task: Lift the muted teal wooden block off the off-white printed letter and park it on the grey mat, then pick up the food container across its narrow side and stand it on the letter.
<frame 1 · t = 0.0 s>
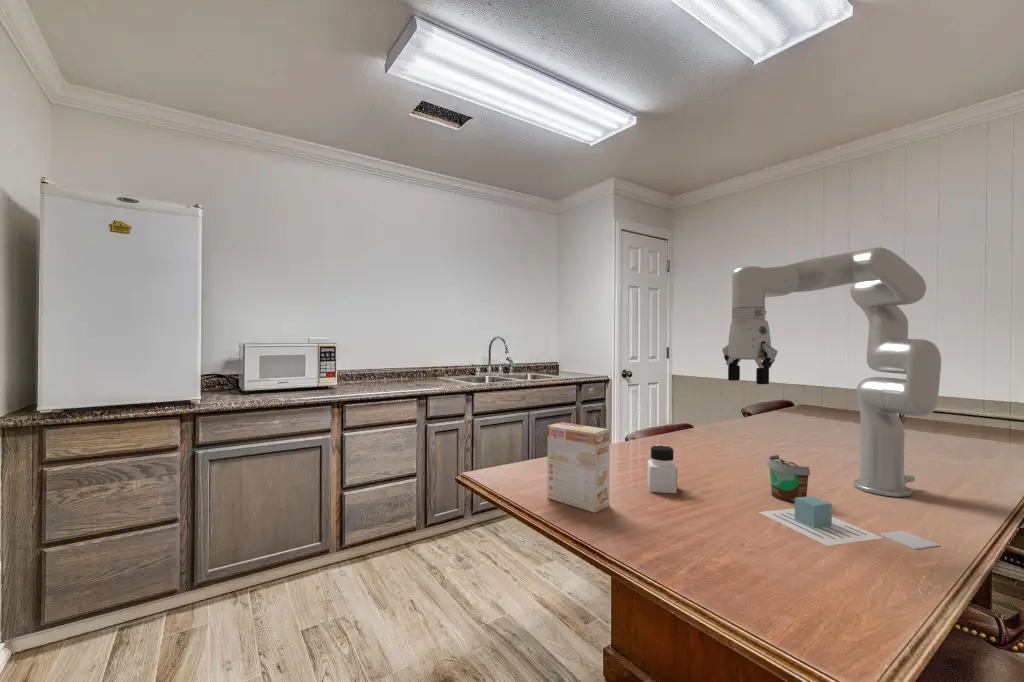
hand: (747, 382, 115), 31 cm above the table, fingers open, 9 cm apart
letter: (816, 525, 102), on the table
food container: (781, 499, 119), on the table
medicine bottle: (661, 489, 126), on the table
teal block: (812, 522, 103), resting on letter
coffeecake box: (577, 503, 115), on the table
mat: (908, 541, 94), on the table
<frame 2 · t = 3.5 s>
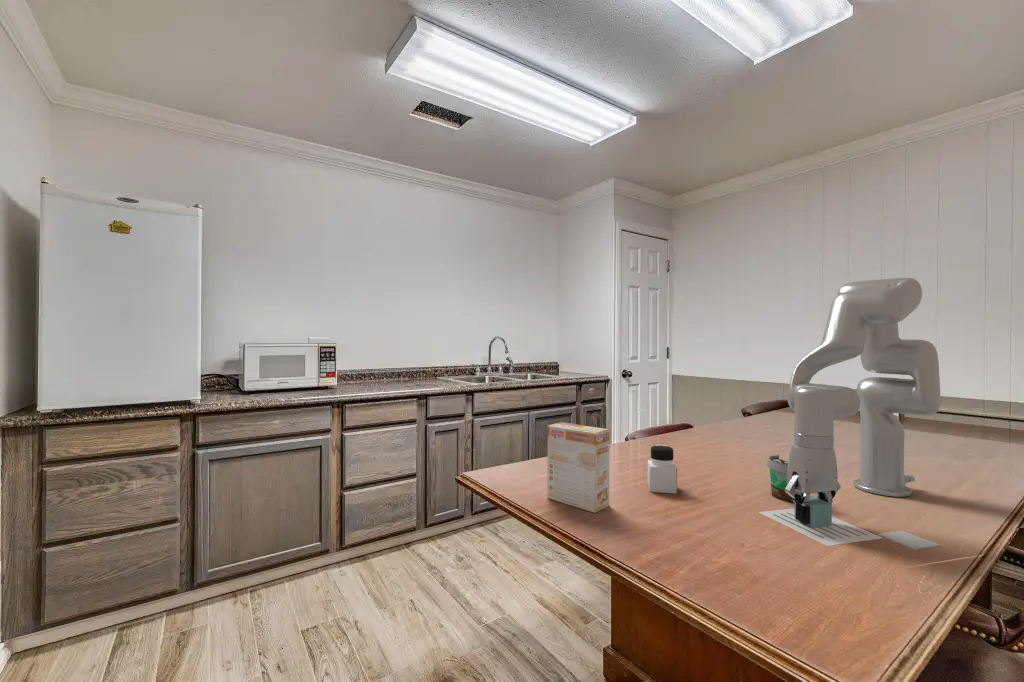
hand: (812, 519, 103), 1 cm above the table, fingers closed on teal block, 5 cm apart
teal block: (812, 522, 103), resting on letter, touching gripper
everything else where it was.
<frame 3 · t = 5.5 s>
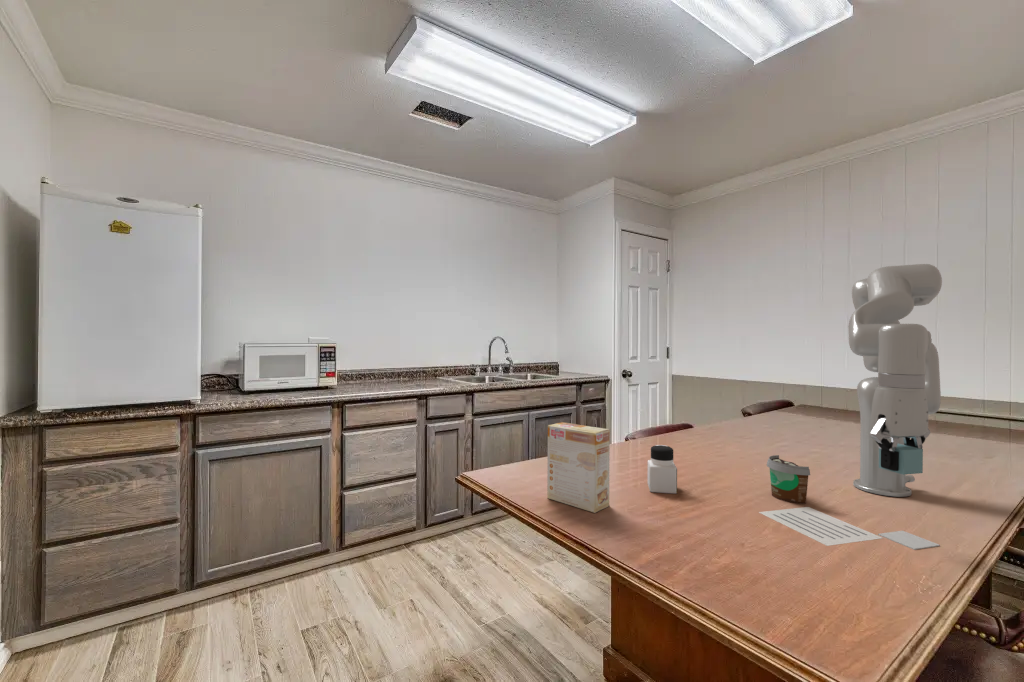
hand: (900, 467, 94), 15 cm above the table, fingers closed on teal block, 5 cm apart
teal block: (900, 470, 94), point 15 cm above the table, touching gripper
everything else where it was.
when the fingers open (2 cm above the table, at t = 7.5 s): teal block drops 1 cm, resting on mat.
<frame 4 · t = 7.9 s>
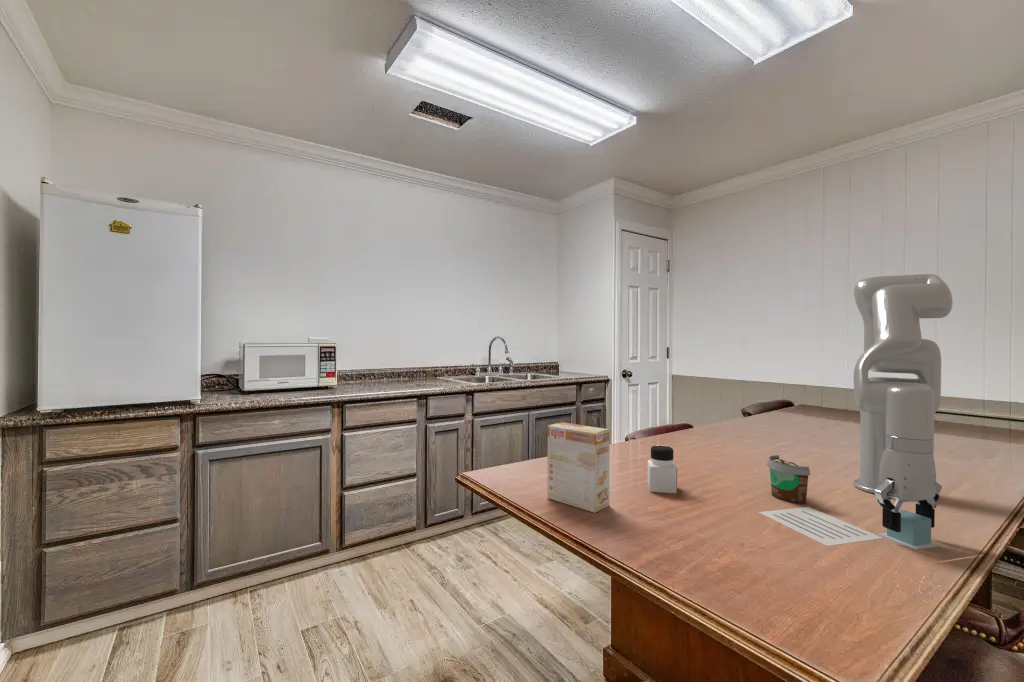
hand: (908, 527, 94), 3 cm above the table, fingers open, 8 cm apart
teal block: (908, 539, 94), resting on mat
everything else where it was.
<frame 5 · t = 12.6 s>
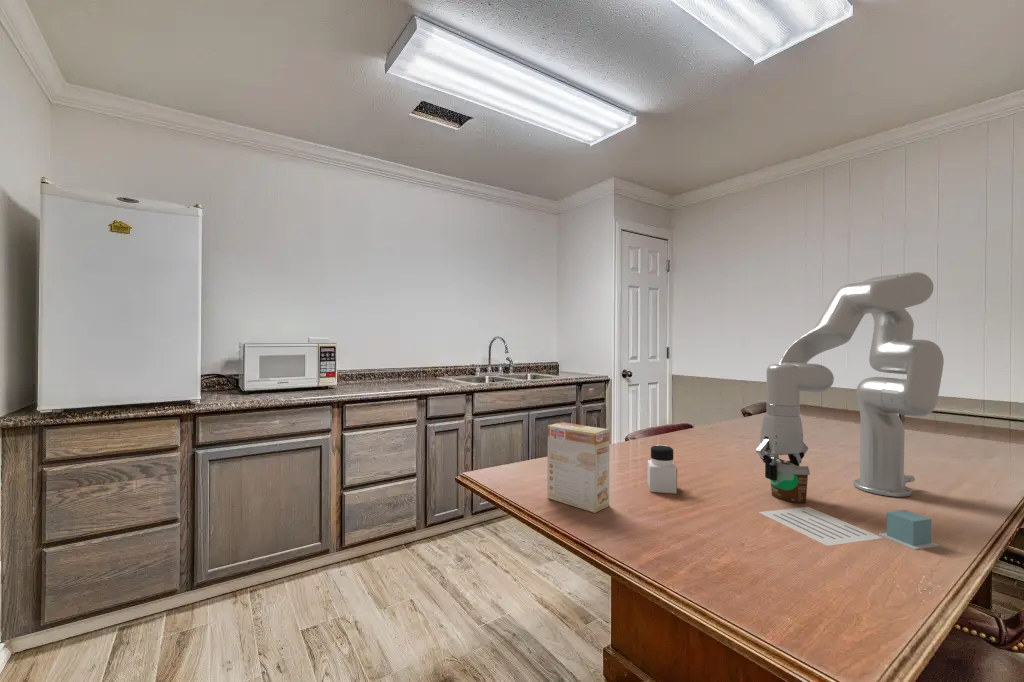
hand: (782, 477, 119), 5 cm above the table, fingers closed on food container, 6 cm apart
food container: (781, 498, 119), on the table, touching gripper
everything else where it was.
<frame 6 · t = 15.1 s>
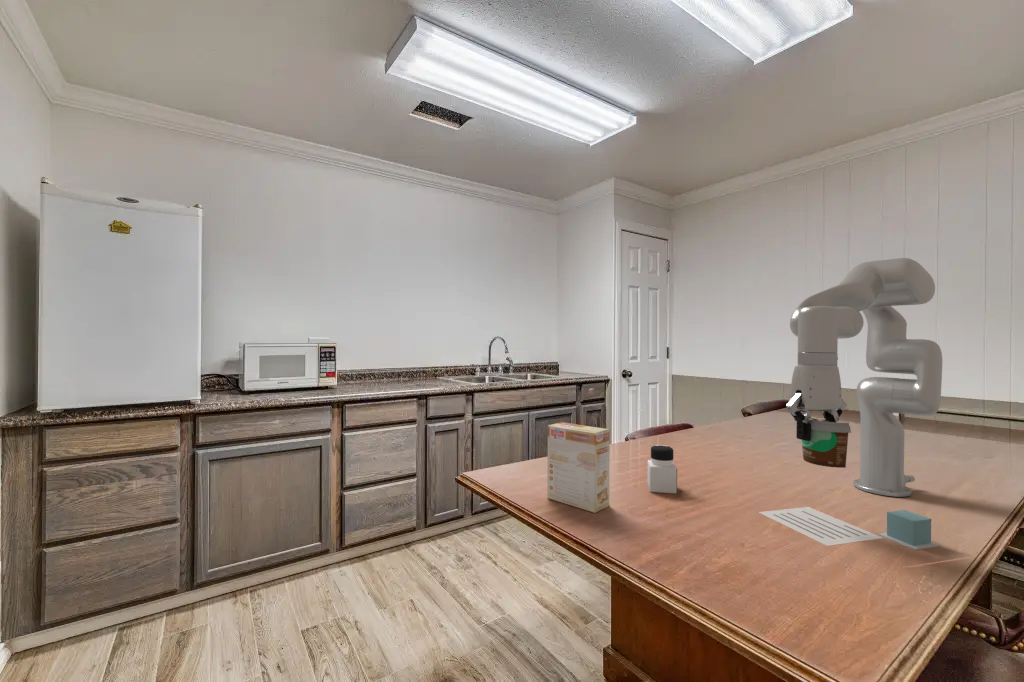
hand: (816, 438, 102), 20 cm above the table, fingers closed on food container, 6 cm apart
food container: (816, 463, 102), point 14 cm above the table, touching gripper
everything else where it was.
when the fingers open (7 cm above the table, at t = 17.6 s): food container drops 1 cm, resting on letter.
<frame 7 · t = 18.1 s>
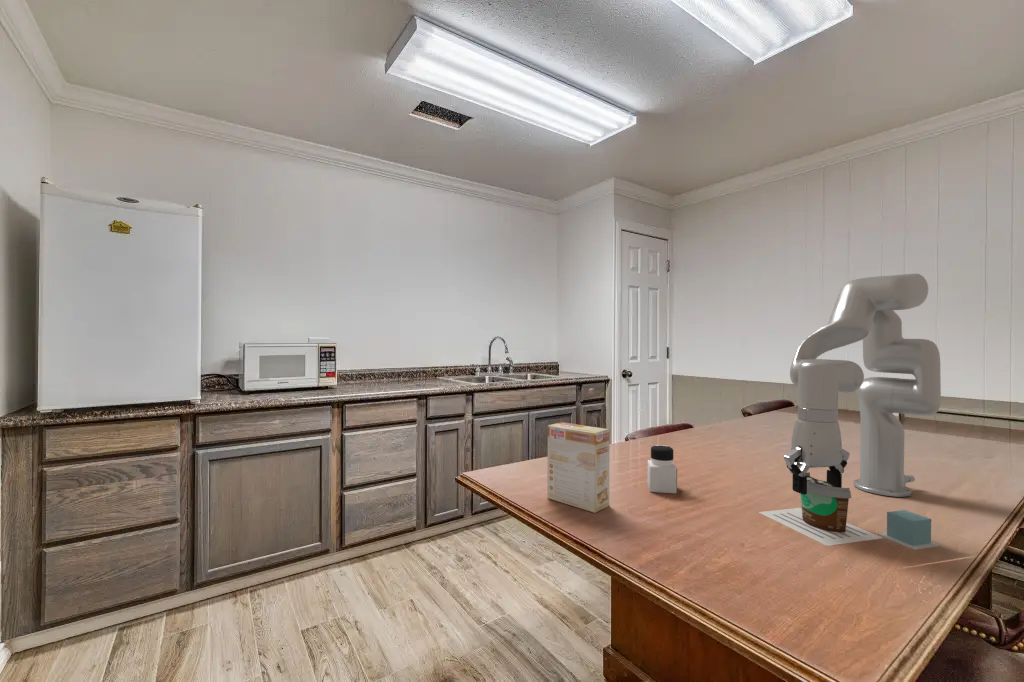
hand: (816, 490, 102), 8 cm above the table, fingers open, 9 cm apart
food container: (815, 524, 102), resting on letter
everything else where it was.
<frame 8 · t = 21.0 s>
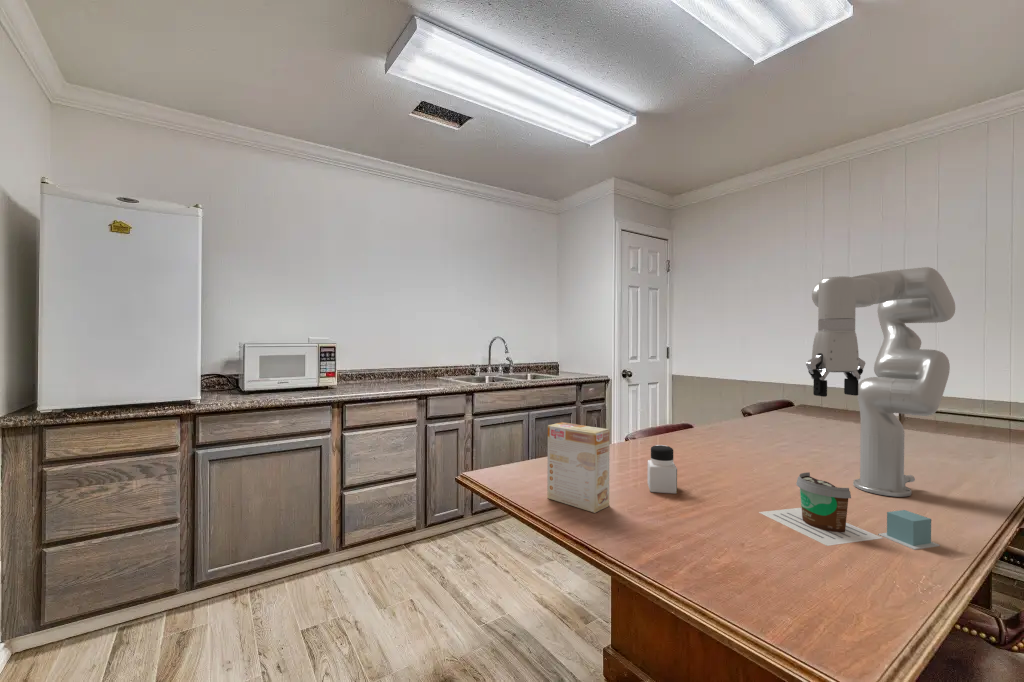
hand: (835, 395, 111), 28 cm above the table, fingers open, 9 cm apart
nothing on the table moved.
at the end: food container 0.3 cm from the letter (horizontally); food container tilted 0°; teal block moved 16.7 cm from its start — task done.
